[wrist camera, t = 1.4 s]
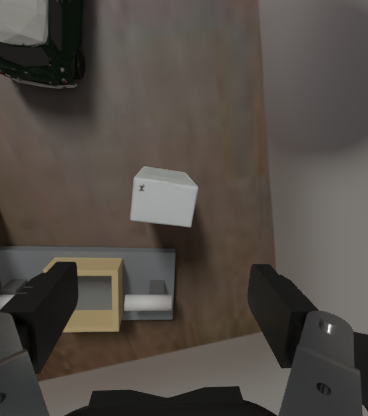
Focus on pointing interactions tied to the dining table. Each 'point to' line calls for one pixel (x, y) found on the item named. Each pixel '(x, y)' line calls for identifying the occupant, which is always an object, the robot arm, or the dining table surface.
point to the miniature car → (41, 41)
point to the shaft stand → (99, 282)
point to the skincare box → (163, 197)
